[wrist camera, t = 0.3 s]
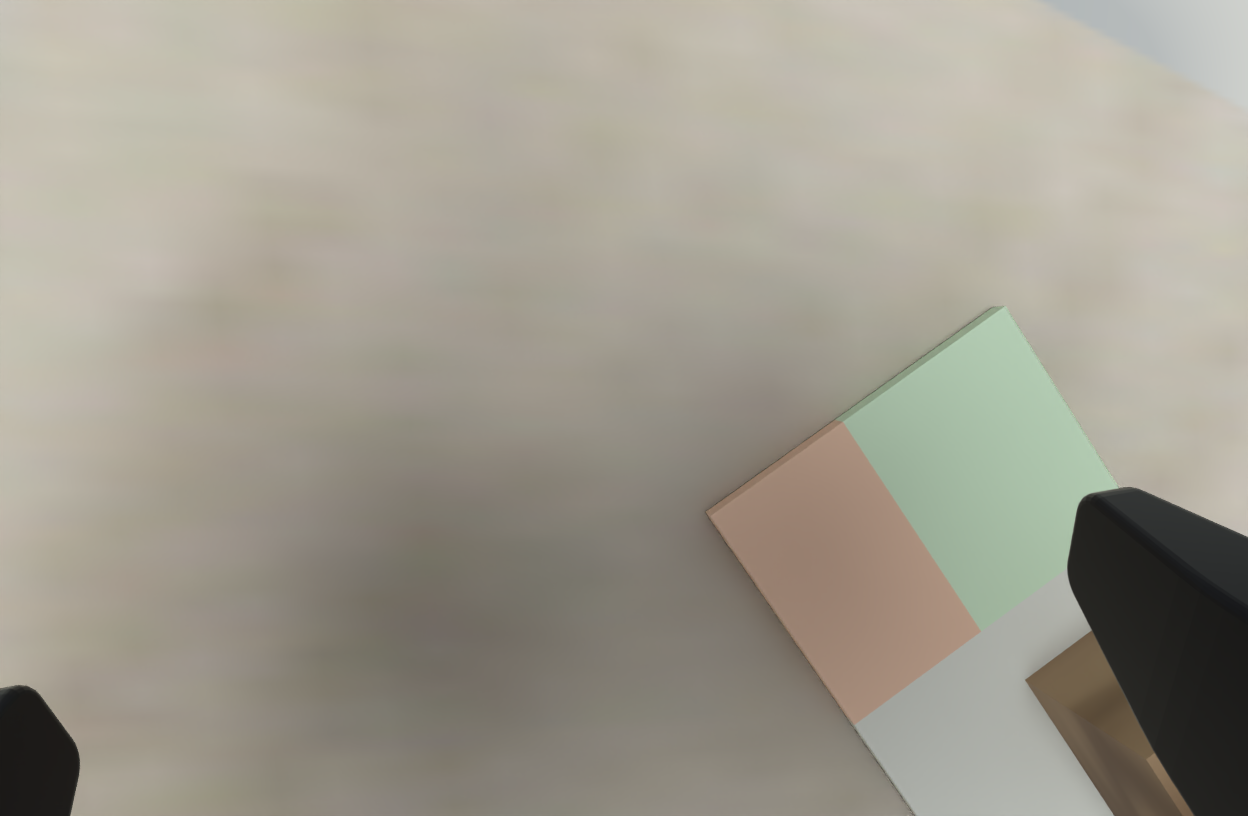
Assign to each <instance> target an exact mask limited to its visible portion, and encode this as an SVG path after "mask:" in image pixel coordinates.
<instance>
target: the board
mask: <svg viewBox="0 0 1248 816" xmlns="http://www.w3.org/2000/svg"><path fill="white" fill-rule="evenodd" d="M1117 488H1119V487H1118V486H1117V484H1116V483H1115V481H1114V479H1113V478H1112V476H1111V474H1110V473H1109V471H1108V470H1107V468H1106V466H1105V465H1104V463H1103V462H1102V460H1101V458H1100V457H1099V455H1098V454H1097V452H1096V450H1095V449H1094V447H1093V446H1092V444H1091V442H1090V441H1089V439H1088V438H1087V436H1086V434H1085V433H1084V431H1083V430H1082V428H1081V426H1080V425H1079V423H1078V422H1077V420H1076V418H1075V417H1074V415H1073V414H1072V412H1071V410H1070V409H1069V407H1068V406H1067V404H1066V402H1065V401H1064V399H1063V398H1062V396H1061V394H1060V393H1059V391H1058V390H1057V388H1056V386H1055V385H1054V383H1053V382H1052V380H1051V378H1050V377H1049V375H1048V374H1047V372H1046V370H1045V369H1044V367H1043V366H1042V364H1041V362H1040V361H1039V359H1038V358H1037V356H1036V354H1035V353H1034V351H1033V350H1032V348H1031V346H1030V345H1029V343H1028V342H1027V340H1026V338H1025V337H1024V335H1023V334H1022V332H1021V330H1020V329H1019V327H1018V326H1017V324H1016V322H1015V321H1014V319H1013V318H1012V316H1011V314H1010V313H1009V311H1008V310H1007V308H1006V306H1000V307H992V308H991V309H990V310H988V311H987V312H985V313H984V314H983V315H981V316H980V317H978V318H977V319H976V320H974V321H973V322H971V323H970V324H969V325H967V326H966V327H964V328H963V329H962V330H960V331H959V332H957V333H956V334H954V335H953V336H952V337H950V338H949V339H947V340H946V341H945V342H943V343H942V344H940V345H939V346H938V347H936V348H935V349H933V350H932V351H931V352H929V353H928V354H926V355H925V356H924V357H922V358H921V359H919V360H918V361H917V362H915V363H914V364H912V365H911V366H910V367H908V368H907V369H905V370H904V371H903V372H901V373H900V374H898V375H897V376H896V377H894V378H893V379H891V380H890V381H889V382H887V383H886V384H884V385H883V386H882V387H880V388H879V389H877V390H876V391H874V392H873V393H872V394H870V395H869V396H867V397H866V398H865V399H863V400H862V401H860V402H859V403H858V404H856V405H855V406H853V407H852V408H851V409H849V410H848V411H846V412H845V413H844V414H842V415H841V416H839V417H838V418H837V419H835V420H834V421H832V422H831V423H830V424H828V425H827V426H825V427H824V428H823V429H821V430H820V431H818V432H817V433H816V434H814V435H813V436H811V437H810V438H809V439H807V440H806V441H804V442H803V443H802V444H800V445H799V446H797V447H796V448H794V449H793V450H792V451H790V452H789V453H787V454H786V455H785V456H783V457H782V458H780V459H779V460H778V461H776V462H775V463H773V464H772V465H771V466H769V467H768V468H766V469H765V470H764V471H762V472H761V473H759V474H758V475H757V476H755V477H754V478H752V479H751V480H750V481H748V482H747V483H745V484H744V485H743V486H741V487H740V488H738V489H737V490H736V491H734V492H733V493H731V494H730V495H729V496H727V497H726V498H724V499H723V500H722V501H720V502H719V503H717V504H716V505H714V506H713V507H712V508H710V509H709V510H707V511H706V512H705V513H706V514H707V515H708V517H709V518H710V520H711V521H712V523H713V524H714V526H715V527H716V529H717V530H718V531H719V533H720V534H721V536H722V537H723V539H724V540H725V542H726V543H727V544H728V546H729V547H730V549H731V550H732V552H733V553H734V555H735V556H736V557H737V559H738V560H739V562H740V563H741V565H742V566H743V568H744V569H745V571H746V572H747V573H748V575H749V576H750V578H751V579H752V581H753V582H754V584H755V585H756V586H757V588H758V589H759V591H760V592H761V594H762V595H763V597H764V598H765V600H766V601H767V602H768V604H769V605H770V607H771V608H772V610H773V611H774V613H775V614H776V615H777V617H778V618H779V620H780V621H781V623H782V624H783V626H784V627H785V628H786V630H787V631H788V633H789V634H790V636H791V637H792V639H793V640H794V642H795V643H796V644H797V646H798V647H799V649H800V650H801V652H802V653H803V655H804V656H805V657H806V659H807V660H808V662H809V663H810V665H811V666H812V668H813V669H814V670H815V672H816V673H817V675H818V676H819V678H820V679H821V681H822V682H823V684H824V685H825V686H826V688H827V689H828V691H829V692H830V694H831V695H832V697H833V698H834V699H835V701H836V702H837V704H838V705H839V707H840V708H841V710H842V711H843V713H844V714H845V715H846V717H847V718H848V720H849V721H850V723H851V724H852V726H853V727H854V728H855V730H856V731H857V733H858V734H859V736H860V737H861V739H862V740H863V741H864V743H865V744H866V746H867V747H868V749H869V750H870V752H871V753H872V755H873V756H874V757H875V759H876V760H877V762H878V763H879V765H880V766H881V768H882V769H883V770H884V772H885V773H886V775H887V776H888V778H889V779H890V781H891V782H892V783H893V785H894V786H895V788H896V789H897V791H898V792H899V794H900V795H901V797H902V798H903V799H904V801H905V802H906V804H907V805H908V807H909V808H910V810H911V811H912V812H913V814H914V815H915V816H1114V815H1113V813H1112V812H1111V810H1110V809H1109V807H1108V806H1107V804H1106V802H1105V801H1104V799H1103V798H1102V796H1101V795H1100V793H1099V792H1098V790H1097V789H1096V787H1095V786H1094V784H1093V783H1092V781H1091V780H1090V778H1089V777H1088V775H1087V774H1086V772H1085V771H1084V769H1083V768H1082V766H1081V764H1080V763H1079V761H1078V760H1077V758H1076V757H1075V755H1074V754H1073V752H1072V751H1071V749H1070V748H1069V746H1068V745H1067V743H1066V742H1065V740H1064V739H1063V737H1062V736H1061V734H1060V733H1059V731H1058V730H1057V728H1056V726H1055V725H1054V723H1053V722H1052V720H1051V719H1050V717H1049V716H1048V714H1047V713H1046V711H1045V710H1044V708H1043V707H1042V705H1041V704H1040V702H1039V701H1038V699H1037V698H1036V696H1035V695H1034V693H1033V692H1032V690H1031V688H1030V687H1029V685H1028V684H1027V682H1026V681H1025V679H1027V678H1028V677H1030V676H1031V675H1032V674H1034V673H1035V672H1036V671H1038V670H1039V669H1040V668H1042V667H1043V666H1044V665H1046V664H1047V663H1048V662H1050V661H1051V660H1052V659H1054V658H1055V657H1056V656H1058V655H1059V654H1061V653H1062V652H1063V651H1065V650H1066V649H1067V648H1069V647H1070V646H1071V645H1073V644H1074V643H1075V642H1077V641H1078V640H1079V639H1081V638H1082V637H1083V636H1085V635H1086V634H1087V633H1089V632H1090V631H1091V628H1090V626H1089V624H1088V622H1087V620H1086V618H1085V616H1084V614H1083V612H1082V610H1081V608H1080V606H1079V604H1078V602H1077V600H1076V598H1075V596H1074V594H1073V592H1072V590H1071V587H1070V584H1069V580H1068V575H1067V561H1068V556H1069V550H1070V545H1071V539H1072V534H1073V528H1074V522H1075V517H1076V511H1077V508H1078V504H1079V502H1080V501H1081V499H1082V498H1083V497H1084V496H1086V495H1088V494H1090V493H1095V492H1100V491H1106V490H1111V489H1117Z"/></svg>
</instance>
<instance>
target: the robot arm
mask: <svg viewBox="0 0 1248 816" xmlns="http://www.w3.org/2000/svg"><path fill="white" fill-rule="evenodd" d="M1067 575H1068V580H1069V584H1070V587H1071V590H1072V592H1073V594H1074V596H1075V598H1076V600H1077V602H1078V604H1079V606H1080V608H1081V610H1082V612H1083V614H1084V616H1085V618H1086V620H1087V622H1088V624H1089V626H1090V628H1091V630H1092V632H1093V634H1094V636H1095V638H1096V640H1097V642H1098V644H1099V646H1100V648H1101V650H1102V652H1103V654H1104V656H1105V658H1106V660H1107V662H1108V664H1109V666H1110V668H1111V670H1112V672H1113V674H1114V676H1115V678H1116V680H1117V682H1118V684H1119V686H1120V688H1121V690H1122V692H1123V694H1124V696H1125V698H1126V700H1127V702H1128V704H1129V706H1130V708H1131V710H1132V712H1133V714H1134V716H1135V718H1136V720H1137V722H1138V724H1139V725H1140V727H1141V729H1142V731H1143V733H1144V735H1145V736H1146V738H1147V740H1148V742H1149V744H1150V746H1151V748H1152V749H1153V751H1154V753H1155V754H1156V756H1157V758H1158V759H1159V761H1160V763H1161V764H1162V766H1163V768H1164V769H1165V771H1166V773H1167V774H1168V776H1169V777H1170V779H1171V781H1172V782H1173V784H1174V785H1175V787H1176V788H1177V790H1178V791H1179V793H1180V795H1181V796H1182V798H1183V799H1184V801H1185V802H1186V804H1187V806H1188V807H1189V809H1190V810H1191V812H1192V813H1193V815H1194V816H1248V537H1246V536H1244V535H1242V534H1240V533H1237V532H1235V531H1233V530H1231V529H1228V528H1226V527H1224V526H1222V525H1219V524H1217V523H1215V522H1213V521H1210V520H1208V519H1206V518H1204V517H1201V516H1199V515H1197V514H1195V513H1192V512H1190V511H1188V510H1185V509H1183V508H1181V507H1179V506H1176V505H1174V504H1172V503H1170V502H1167V501H1165V500H1163V499H1161V498H1158V497H1156V496H1154V495H1152V494H1149V493H1147V492H1145V491H1142V490H1140V489H1137V488H1133V487H1123V488H1117V489H1111V490H1106V491H1100V492H1095V493H1090V494H1088V495H1086V496H1084V497H1083V498H1082V499H1081V501H1080V502H1079V504H1078V508H1077V511H1076V517H1075V522H1074V528H1073V534H1072V539H1071V545H1070V550H1069V556H1068V561H1067ZM79 770H80V759H79V753H78V749H77V746H76V744H75V742H74V741H73V739H72V738H71V736H70V735H69V734H68V732H67V731H66V730H65V728H64V727H63V725H62V724H61V723H60V721H59V720H58V719H57V717H56V716H55V715H54V713H53V712H52V710H51V709H50V708H49V706H48V705H47V704H46V702H45V701H44V700H43V698H42V697H41V696H40V694H39V693H38V692H37V691H36V690H34V689H32V688H30V687H28V686H22V685H16V686H10V687H5V688H0V816H70V814H71V810H72V805H73V801H74V796H75V791H76V787H77V782H78V777H79Z"/></svg>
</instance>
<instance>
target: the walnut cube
mask: <svg viewBox="0 0 1248 816" xmlns="http://www.w3.org/2000/svg"><path fill="white" fill-rule="evenodd" d="M1025 681H1026V682H1027V684H1028V685H1029V687H1030V688H1031V690H1032V692H1033V693H1034V695H1035V696H1036V698H1037V699H1038V701H1039V702H1040V704H1041V705H1042V707H1043V708H1044V710H1045V711H1046V713H1047V714H1048V716H1049V717H1050V719H1051V720H1052V722H1053V723H1054V725H1055V726H1056V728H1057V730H1058V731H1059V733H1060V734H1061V736H1062V737H1063V739H1064V740H1065V742H1066V743H1067V745H1068V746H1069V748H1070V749H1071V751H1072V752H1073V754H1074V755H1075V757H1076V758H1077V760H1078V761H1079V763H1080V764H1081V766H1082V768H1083V769H1084V771H1085V772H1086V774H1087V775H1088V777H1089V778H1090V780H1091V781H1092V783H1093V784H1094V786H1095V787H1096V789H1097V790H1098V792H1099V793H1100V795H1101V796H1102V798H1103V799H1104V801H1105V802H1106V804H1107V806H1108V807H1109V809H1110V810H1111V812H1112V813H1113V815H1114V816H1194V815H1193V813H1192V812H1191V810H1190V809H1189V807H1188V806H1187V804H1186V802H1185V801H1184V799H1183V798H1182V796H1181V795H1180V793H1179V791H1178V790H1177V788H1176V787H1175V785H1174V784H1173V782H1172V781H1171V779H1170V777H1169V776H1168V774H1167V773H1166V771H1165V769H1164V768H1163V766H1162V764H1161V763H1160V761H1159V759H1158V758H1157V756H1156V754H1155V753H1154V751H1153V749H1152V748H1151V746H1150V744H1149V742H1148V740H1147V738H1146V736H1145V735H1144V733H1143V731H1142V729H1141V727H1140V725H1139V724H1138V722H1137V720H1136V718H1135V716H1134V714H1133V712H1132V710H1131V708H1130V706H1129V704H1128V702H1127V700H1126V698H1125V696H1124V694H1123V692H1122V690H1121V688H1120V686H1119V684H1118V682H1117V680H1116V678H1115V676H1114V674H1113V672H1112V670H1111V668H1110V666H1109V664H1108V662H1107V660H1106V658H1105V656H1104V654H1103V652H1102V650H1101V648H1100V646H1099V644H1098V642H1097V640H1096V638H1095V636H1094V634H1093V632H1092V630H1091V631H1090V632H1089V633H1087V634H1086V635H1085V636H1083V637H1082V638H1081V639H1079V640H1078V641H1077V642H1075V643H1074V644H1073V645H1071V646H1070V647H1069V648H1067V649H1066V650H1065V651H1063V652H1062V653H1061V654H1059V655H1058V656H1056V657H1055V658H1054V659H1052V660H1051V661H1050V662H1048V663H1047V664H1046V665H1044V666H1043V667H1042V668H1040V669H1039V670H1038V671H1036V672H1035V673H1034V674H1032V675H1031V676H1030V677H1028V678H1027V679H1025Z"/></svg>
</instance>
